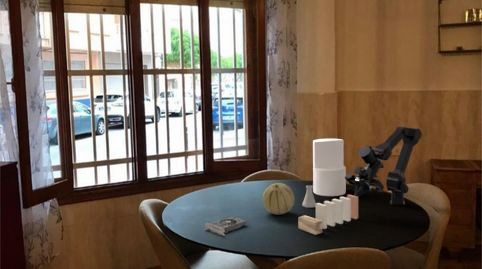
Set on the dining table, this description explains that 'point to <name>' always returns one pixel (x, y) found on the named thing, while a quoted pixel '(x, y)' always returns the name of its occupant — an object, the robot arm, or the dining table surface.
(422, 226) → the dining table surface
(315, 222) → the block
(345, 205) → the domino
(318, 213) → the domino
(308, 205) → the flask
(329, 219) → the domino
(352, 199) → the domino
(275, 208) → the cantaloupe
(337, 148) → the cylinder
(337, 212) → the domino
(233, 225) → the graphics card
